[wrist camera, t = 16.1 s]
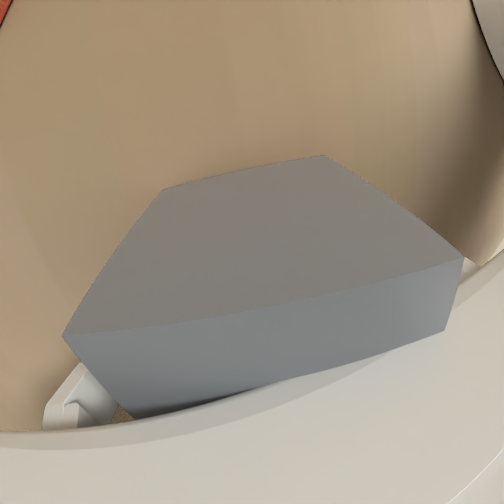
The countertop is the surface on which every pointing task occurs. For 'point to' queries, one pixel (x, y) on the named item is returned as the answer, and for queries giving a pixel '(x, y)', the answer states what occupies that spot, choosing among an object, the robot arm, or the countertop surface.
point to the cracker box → (3, 8)
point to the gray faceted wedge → (259, 286)
